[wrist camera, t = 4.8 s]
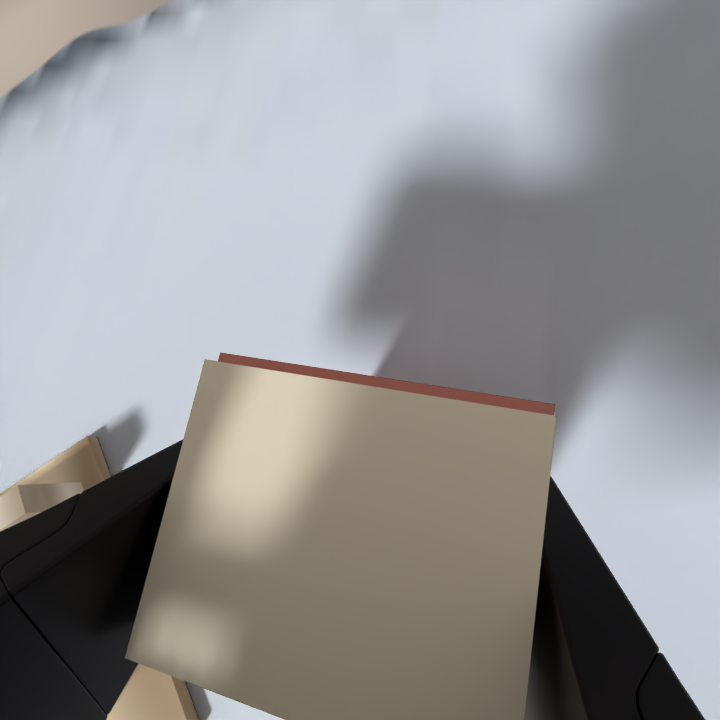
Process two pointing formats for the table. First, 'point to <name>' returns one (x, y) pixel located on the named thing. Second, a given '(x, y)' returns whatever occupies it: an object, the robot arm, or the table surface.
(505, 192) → the table surface
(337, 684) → the boxed book
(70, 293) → the table surface
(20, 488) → the shelf slot
